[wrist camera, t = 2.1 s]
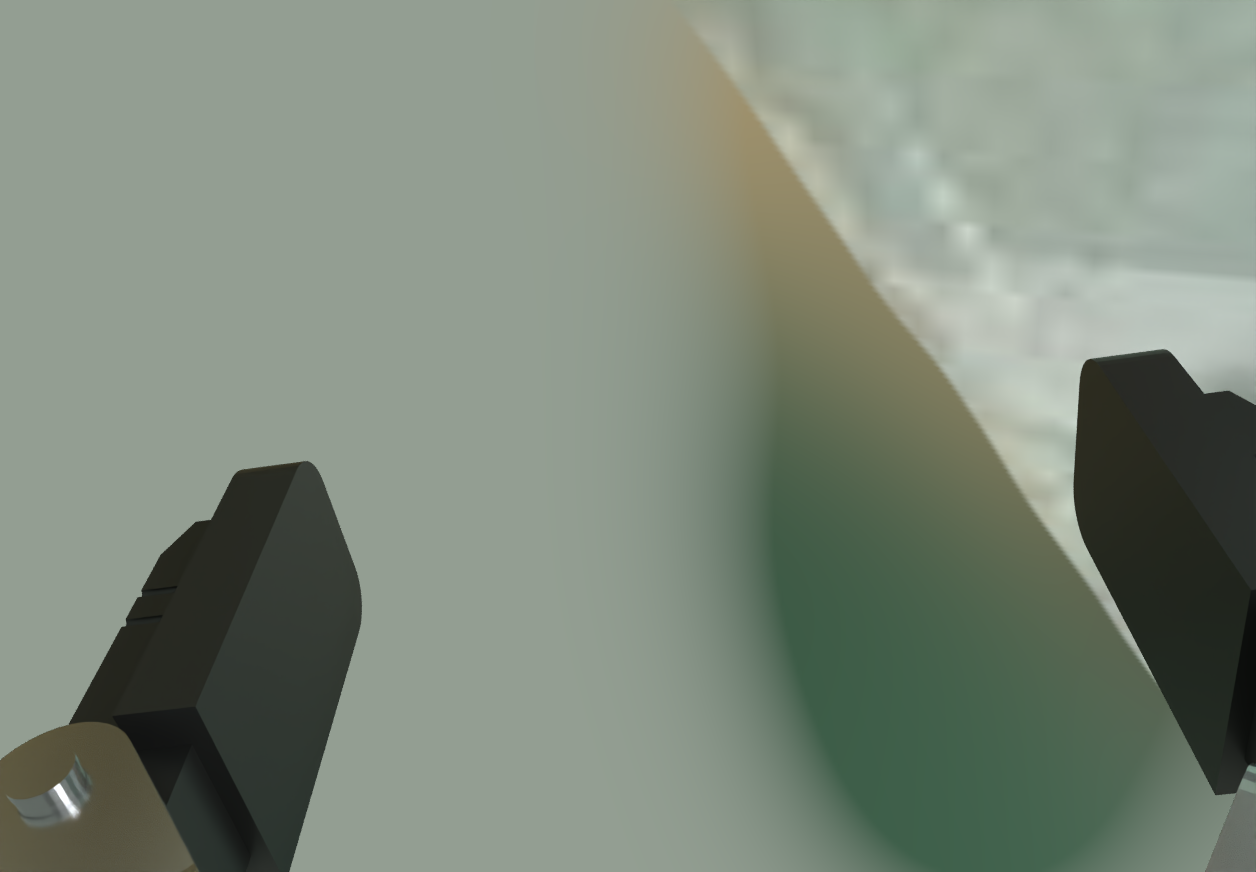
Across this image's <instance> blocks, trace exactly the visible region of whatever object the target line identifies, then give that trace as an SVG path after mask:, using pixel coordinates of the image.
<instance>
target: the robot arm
mask: <svg viewBox="0 0 1256 872" xmlns="http://www.w3.org/2000/svg"><path fill="white" fill-rule="evenodd" d="M1074 504H1075V511H1076V516H1077V521H1078V525H1079V529H1080V532H1081V535H1082V538H1083V541H1084V543H1085V545H1086V547H1087V549H1088V551H1089V553H1090V555H1091V557H1092V559H1093V561H1094V563H1095V565H1096V567H1097V569H1098V571H1099V572H1100V574H1101V576H1102V578H1103V580H1104V582H1105V584H1106V586H1107V588H1108V590H1109V592H1110V594H1111V596H1112V597H1113V599H1114V601H1115V603H1116V605H1117V607H1118V609H1119V611H1120V613H1121V615H1122V617H1123V619H1124V621H1125V622H1126V624H1127V626H1128V628H1129V630H1130V632H1131V634H1132V636H1133V638H1134V640H1135V642H1136V644H1137V646H1138V647H1139V649H1140V651H1141V653H1142V655H1143V657H1144V659H1145V661H1146V663H1147V665H1148V667H1149V669H1150V670H1151V672H1152V674H1153V676H1154V678H1155V680H1156V682H1157V684H1158V686H1159V688H1160V690H1161V692H1162V694H1163V695H1164V697H1165V699H1166V701H1167V703H1168V705H1169V707H1170V709H1171V711H1172V713H1173V715H1174V717H1175V718H1176V720H1177V722H1178V724H1179V726H1180V728H1181V730H1182V732H1183V734H1184V736H1185V738H1186V740H1187V742H1188V743H1189V745H1190V747H1191V749H1192V751H1193V753H1194V755H1195V757H1196V759H1197V761H1198V762H1199V765H1200V766H1201V768H1202V770H1203V772H1204V774H1205V776H1206V778H1207V780H1208V782H1209V784H1210V786H1211V788H1212V790H1213V791H1214V793H1215V795H1222V794H1231V793H1236V795H1235V798H1234V800H1233V803H1232V805H1231V808H1230V810H1229V813H1228V815H1227V818H1226V821H1225V823H1224V826H1223V828H1222V830H1221V833H1220V835H1219V838H1218V841H1217V843H1216V846H1215V848H1214V850H1213V853H1212V855H1211V858H1210V860H1209V863H1208V866H1207V868H1206V870H1205V872H1256V405H1254V404H1252V403H1250V402H1248V401H1247V400H1245V399H1243V398H1241V397H1239V396H1238V395H1236V394H1234V393H1232V392H1230V391H1223V392H1215V393H1207V394H1204V393H1203V392H1202V391H1201V389H1200V388H1199V387H1198V386H1197V384H1196V383H1195V382H1194V381H1193V379H1192V378H1191V377H1190V376H1189V374H1188V373H1187V372H1186V370H1185V369H1184V368H1183V367H1182V365H1181V364H1180V363H1179V362H1178V360H1177V359H1176V358H1175V357H1174V356H1173V355H1172V353H1171V352H1169V351H1168V350H1164V349H1162V350H1154V351H1147V352H1139V353H1131V354H1124V355H1116V356H1109V357H1101V358H1094V359H1089V360H1087V361H1086V362H1085V363H1084V365H1083V368H1082V371H1081V376H1080V385H1079V401H1078V418H1077V434H1076V451H1075V467H1074ZM361 615H362V601H361V590H360V584H359V579H358V575H357V572H356V569H355V566H354V563H353V561H352V558H351V555H350V553H349V550H348V548H347V544H346V542H345V539H344V536H343V534H342V531H341V528H340V526H339V523H338V520H337V517H336V515H335V512H334V510H333V507H332V504H331V501H330V499H329V496H328V494H327V491H326V488H325V485H324V482H323V480H322V478H321V475H320V474H319V472H318V470H317V469H316V467H315V466H314V465H313V464H312V463H310V462H308V461H303V462H296V463H289V464H281V465H274V466H266V467H258V468H251V469H244V470H240V471H238V472H237V473H236V474H235V475H234V476H233V478H232V480H231V482H230V483H229V486H228V487H227V490H226V492H225V493H224V495H223V498H222V499H221V501H220V503H219V505H218V507H217V509H216V511H215V513H214V516H213V517H212V519H211V520H206V521H199V522H195V523H194V524H193V525H192V526H191V527H190V528H189V529H188V530H187V531H186V532H185V533H184V534H182V535H181V537H179V538H178V539H177V540H176V541H175V542H174V543H173V544H172V545H171V546H170V547H169V548H168V549H166V551H164V552H163V553H162V554H161V555H160V557H159V559H158V561H157V563H156V564H155V567H154V568H153V570H152V572H151V574H150V576H149V577H148V579H147V581H146V583H145V585H144V586H143V588H142V597H138V598H137V599H136V601H135V603H134V605H133V607H132V609H131V611H130V612H129V615H128V616H127V618H126V623H127V624H126V626H125V627H121V629H120V631H119V633H118V634H117V636H116V638H115V640H114V642H113V644H112V645H111V647H110V649H109V651H108V653H107V655H106V657H105V658H104V660H103V662H102V664H101V666H100V668H99V670H98V671H97V673H96V675H95V677H94V679H93V680H92V682H91V684H90V686H89V688H88V690H87V692H86V693H85V695H84V697H83V699H82V701H81V703H80V704H79V706H78V708H77V710H76V712H75V714H74V715H73V717H72V719H71V721H70V723H69V725H66V726H62V727H58V728H56V729H53V730H50V731H48V732H45V733H43V734H41V735H39V736H37V737H34V738H32V739H31V740H29V741H27V742H25V743H24V744H22V745H20V746H19V747H17V748H15V749H14V750H13V751H11V752H10V753H9V754H7V755H6V756H5V757H3V758H2V759H1V760H0V872H289V871H290V867H291V863H292V860H293V857H294V853H295V850H296V846H297V843H298V840H299V836H300V833H301V829H302V826H303V822H304V819H305V815H306V812H307V808H308V805H309V802H310V798H311V795H312V791H313V788H314V785H315V781H316V778H317V774H318V770H319V767H320V764H321V760H322V757H323V753H324V750H325V746H326V743H327V740H328V736H329V733H330V729H331V726H332V723H333V719H334V716H335V712H336V709H337V705H338V702H339V698H340V695H341V691H342V688H343V685H344V681H345V678H346V674H347V671H348V667H349V664H350V661H351V657H352V654H353V650H354V647H355V643H356V640H357V636H358V633H359V629H360V624H361Z"/></svg>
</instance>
